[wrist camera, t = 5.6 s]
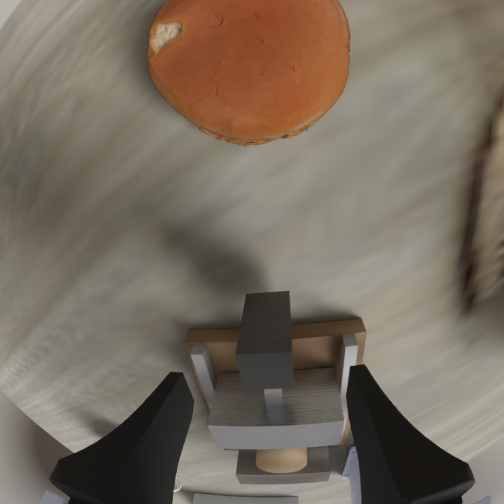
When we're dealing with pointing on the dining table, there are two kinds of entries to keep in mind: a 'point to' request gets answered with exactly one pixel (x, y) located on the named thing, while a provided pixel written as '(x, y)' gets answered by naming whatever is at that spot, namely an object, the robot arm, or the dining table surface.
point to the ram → (273, 387)
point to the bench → (304, 358)
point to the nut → (281, 459)
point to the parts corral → (241, 499)
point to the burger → (250, 64)
